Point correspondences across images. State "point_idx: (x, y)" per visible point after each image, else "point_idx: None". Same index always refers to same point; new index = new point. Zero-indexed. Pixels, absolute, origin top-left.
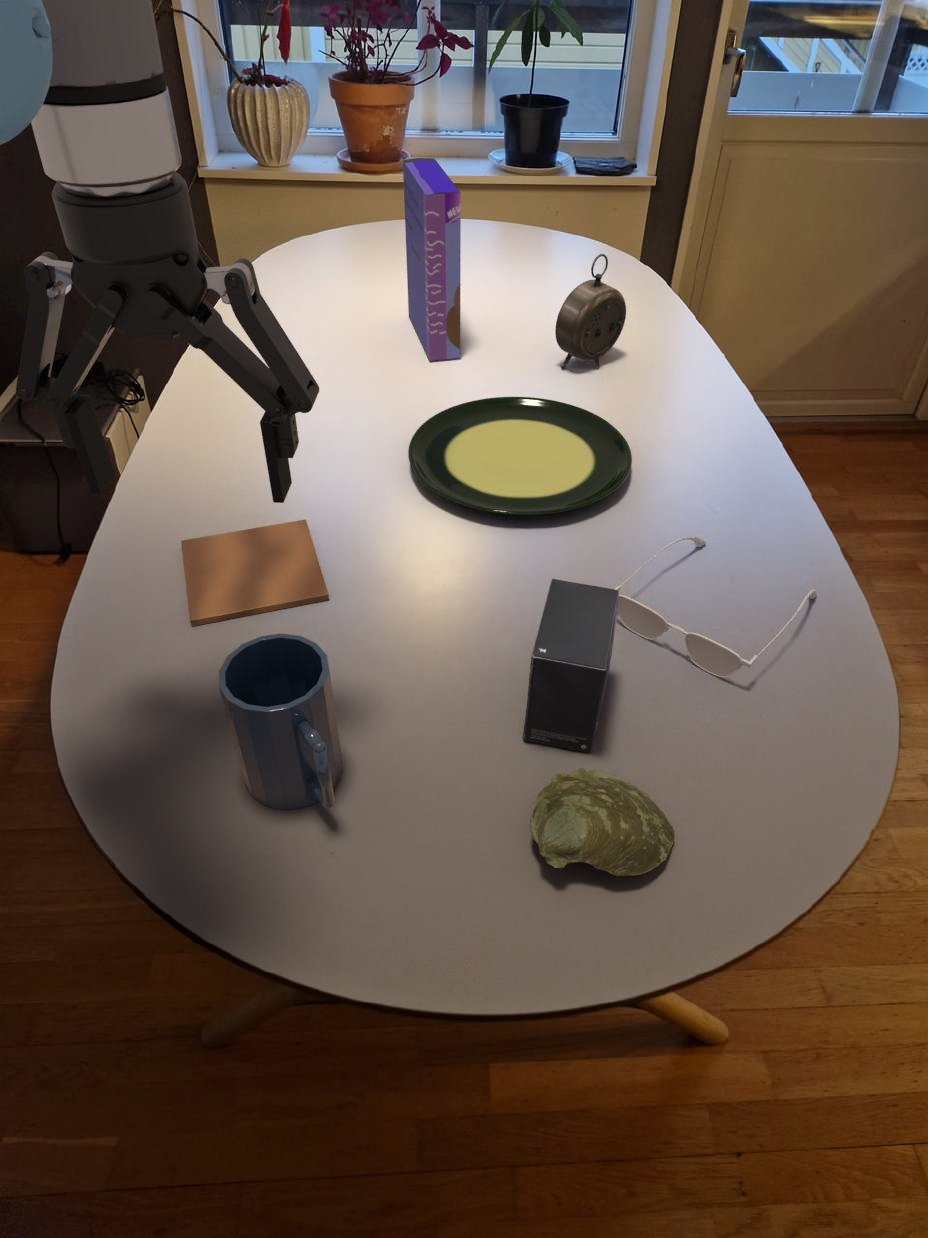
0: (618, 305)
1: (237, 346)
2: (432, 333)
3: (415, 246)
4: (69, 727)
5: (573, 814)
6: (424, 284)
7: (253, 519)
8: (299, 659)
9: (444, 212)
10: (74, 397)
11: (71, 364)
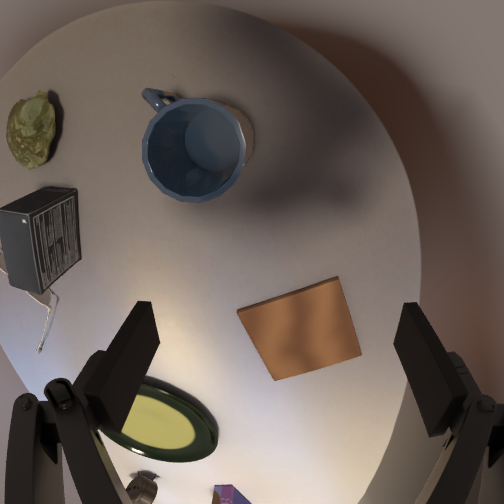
0: None
1: None
2: (228, 498)
3: None
4: (399, 169)
5: (26, 118)
6: None
7: (314, 379)
8: (190, 189)
9: None
10: (452, 426)
11: (463, 481)
